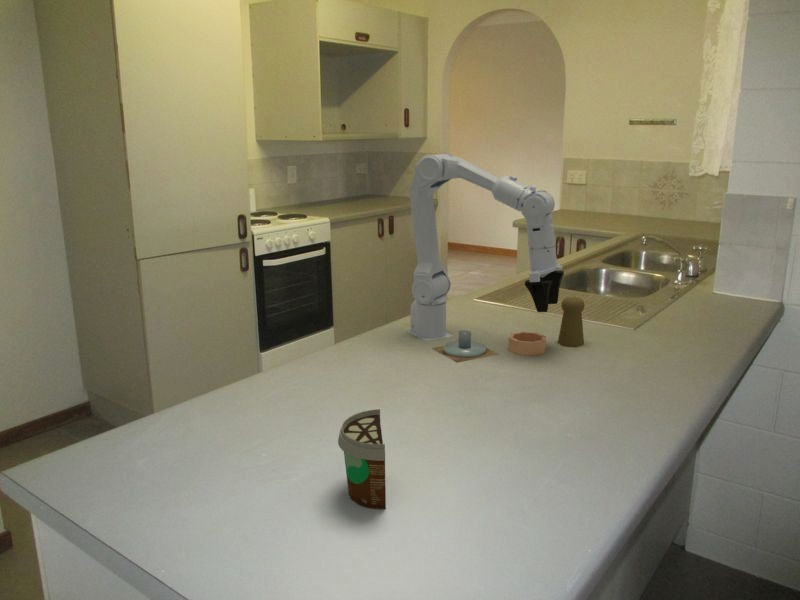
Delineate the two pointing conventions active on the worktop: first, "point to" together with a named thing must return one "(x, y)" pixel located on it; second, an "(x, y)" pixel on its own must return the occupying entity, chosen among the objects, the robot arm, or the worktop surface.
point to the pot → (527, 343)
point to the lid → (464, 347)
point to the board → (441, 350)
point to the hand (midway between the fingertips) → (547, 307)
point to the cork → (571, 322)
